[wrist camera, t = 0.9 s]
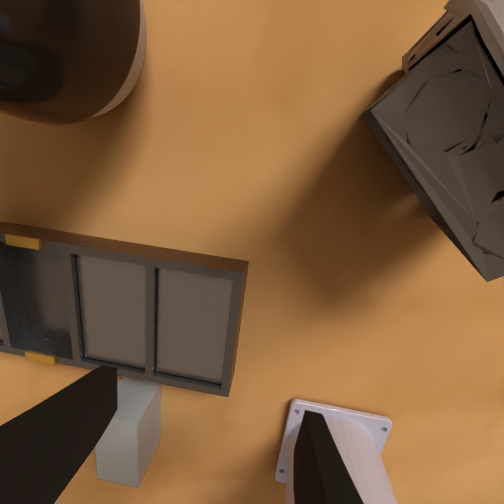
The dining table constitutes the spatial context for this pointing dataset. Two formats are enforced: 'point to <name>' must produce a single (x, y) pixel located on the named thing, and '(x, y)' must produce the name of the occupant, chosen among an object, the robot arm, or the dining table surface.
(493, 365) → the dining table surface
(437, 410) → the dining table surface
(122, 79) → the dark egg shaped ornament
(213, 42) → the dining table surface
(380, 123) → the electrical switch
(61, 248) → the rack
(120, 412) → the grey rectangular block
